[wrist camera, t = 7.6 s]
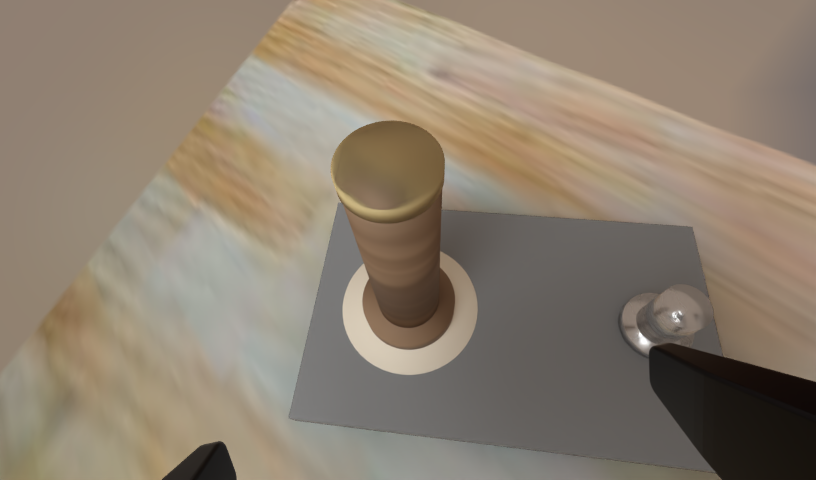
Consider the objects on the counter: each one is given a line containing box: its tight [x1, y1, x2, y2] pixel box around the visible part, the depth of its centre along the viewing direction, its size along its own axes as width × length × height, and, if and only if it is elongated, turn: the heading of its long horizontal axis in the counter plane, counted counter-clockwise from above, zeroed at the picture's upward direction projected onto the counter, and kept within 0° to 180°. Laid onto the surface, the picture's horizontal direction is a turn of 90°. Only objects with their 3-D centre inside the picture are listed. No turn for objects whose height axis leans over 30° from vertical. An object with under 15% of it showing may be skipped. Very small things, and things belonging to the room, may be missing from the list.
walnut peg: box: [331, 121, 455, 350], centre depth 16 cm, size 5×5×12 cm
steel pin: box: [618, 284, 714, 359], centre depth 19 cm, size 3×3×3 cm
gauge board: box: [289, 203, 723, 473], centre depth 21 cm, size 12×20×1 cm, turn 83°
